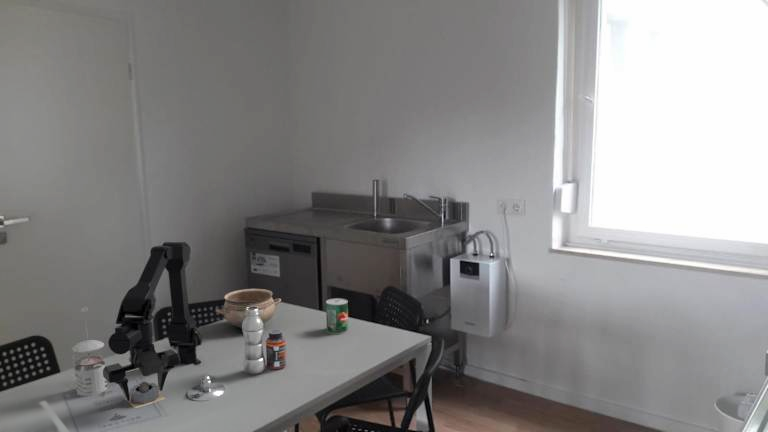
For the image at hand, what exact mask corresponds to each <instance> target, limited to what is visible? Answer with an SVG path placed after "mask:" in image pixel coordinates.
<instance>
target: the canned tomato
mask: <svg viewBox="0 0 768 432" xmlns="http://www.w3.org/2000/svg"><path fill="white" fill-rule="evenodd" d="M348 302H349V301H348V299H346V298H339V297H335V298H330V299H327V300H326V301H325V304H326V305H325V308H326V314H325V315H326V332H327V333H328V334H331V335H342V334H346V333H348V331H349V308H348V307H349V305H348Z"/></svg>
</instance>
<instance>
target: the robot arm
mask: <svg viewBox="0 0 768 432" xmlns="http://www.w3.org/2000/svg"><path fill="white" fill-rule="evenodd" d="M190 255H191V247H190V245H189V244H188V243H187V242H185V241H164V242H163V243H162V244H161V245H155V246H152V247H151V248H150V255H149V258H148V259H147V262H146V264H145V266H144V269H143V270H142V273H141V275H140V277H139V279H138V281H137V283H136V284H135V285H134V286H132V287H131V288H130V289H128V290H127V291H126V294H125V295H124V297H123V299H122V300H121V303H120V306H119V310H118V314H117V316H116V321H115V324H116V325H119V326H116V327H115V328H114V331H115V332H113V333H112V334H111V335H110V336H109V339H108V347H109V349H110V351H112V352H113V353H114V354H117V355H124V354H126V353H128V352H129V357H128V362H130V364H127V365H123V366H122V365H121V364H120V363H113V364H110V365H107V366H106V365H105V368H104V369H103V377H104V379H106V380H107V383H109V384H110V383H114V384H116V385H118V386H119V388H120V390H121V392H122V394H123V396H124V397H125V398H126V399H127V400H128V401H129V400H130V389H129V384H128V383H129V379H128V378H127V377H126V376H127V374H128V373H132V372H134V371H135V372H136V371H140V372H141V376H143V377H149V376H151V375H154V374H157V375H156V376H157V386H158V390H159V392H162V390H163V389H164V386H165V381H166V379H167V376H168V374H169V372H170V371H171V370H172V369H174V368H175V367H176V365H181V364H183V365H189V366H190V365H194V366H196V365H198V364H201V363H202V361H201V360H200V359H199V358H197V347H198V346H201V345H202V342H203V335H202V333H201V332H200V330H199V329H198V328H197V323H196V320H195V318H194V317H193V316H192V315H191V314H190V309H189V298H188V286H187V276H186V268H187V266H188V263H189V262H190V257H191V256H190ZM165 269H166V271H167V274H168V283H169V292H170V295H169V296H170V303H171V304H170V305H171V314H172V316H171V320H170V321H169V323H168V324H167V325H166V331H167V336H166V337H167V340H168V343H169V347H176V351H174V350H173V349H171V348H169V349H167V350H163V351H160V352H157V351H156V349H155V344H154V343H153V338H152V337H153V336H152V335H153V334H152V321H151V320H154V317H155V316H154V315H152V314H153V312H154V310H155V306H156V305H155V304H156V301H157V299H156V297H155V292H156V289H157V286H158V285H159V282H160V279H161V278H162V275H163V273H164V271H165ZM126 399H125V400H126ZM127 400H126V401H127ZM128 401H127V402H128Z"/></svg>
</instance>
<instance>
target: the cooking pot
mask: <svg viewBox="0 0 768 432" xmlns="http://www.w3.org/2000/svg"><path fill="white" fill-rule="evenodd" d="M272 296H273V292H272V291H271V290H270V289H269V290H268V289H263V288H245V289H239V290H238V289H237V290H234V291H231V292H228V293H227V294H225V295H224V299H225V300H224V301H225V302H224V304H223V308H216V309H215V312H216V313H219V314H222V315H223V317H224V319H225V320H226V321H227V322H228V323H229V324H230V325H232V326H235V327H237V328H240V329H242V324H243V321H244V320H245V318H246V317H247V315H246V308H248V307H258V312H259V314H258V316H259V317H260V319H261V320H262V322H263V325H265V324H266V323H268V322H269V321H270V320H271V319H272V318H273V316H274V315H275V312H276V306H277V305H279V304H280V303H281V301H282V299H281V298H276V299H274V298H273V297H272Z"/></svg>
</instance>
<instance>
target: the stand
mask: <svg viewBox="0 0 768 432" xmlns="http://www.w3.org/2000/svg"><path fill="white" fill-rule="evenodd" d="M148 383H149V382H147V381H142V382H140V383H139V384H140V385H139V384H138V385H139V391H140V392H144V391H147V390H149V384H148ZM124 399H125V401H126V402H128V403H129V404H130V405H131V406H132V407H133V408H134V409H138V408H141V407H144V406H147V405H150V404H154V403H157V402H160V401H164V400H166V398H165V397H164V396H163V395H161V393H159V397H158V398H157V399H156V400H155V401H153V402H150V403H147V404H134V403H133V402H131V399H130V400H129V401H128V400H127V399H126V397H125V398H124Z"/></svg>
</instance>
